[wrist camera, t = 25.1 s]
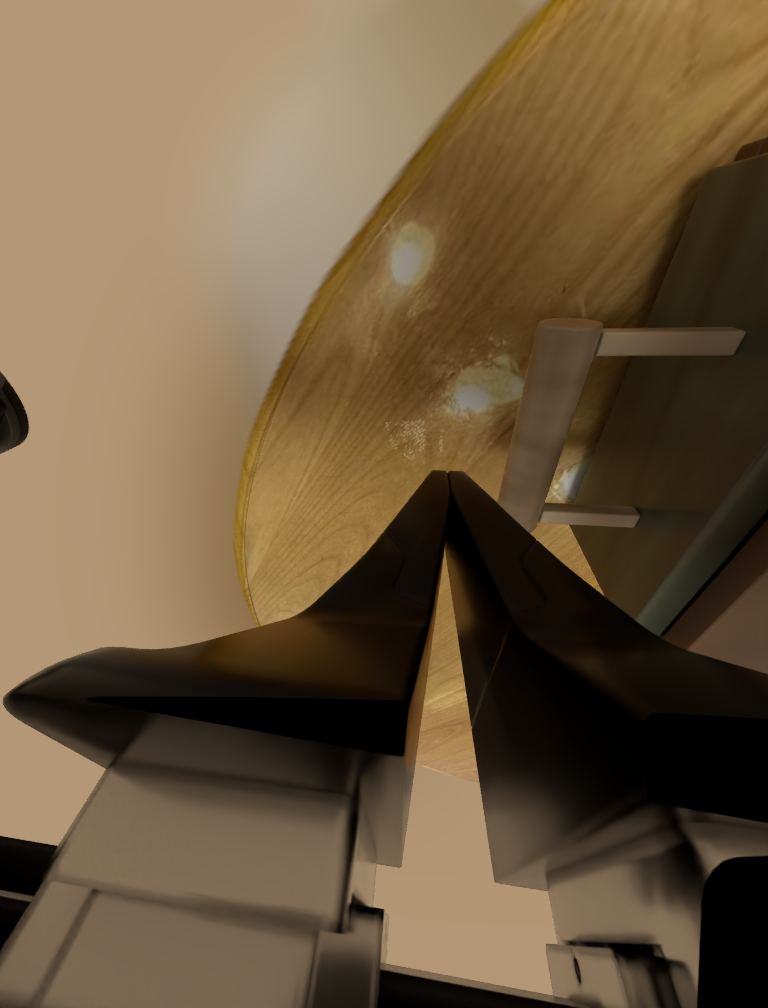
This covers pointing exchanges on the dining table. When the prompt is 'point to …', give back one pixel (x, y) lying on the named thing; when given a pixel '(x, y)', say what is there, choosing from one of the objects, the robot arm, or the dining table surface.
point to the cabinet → (731, 590)
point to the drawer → (664, 414)
